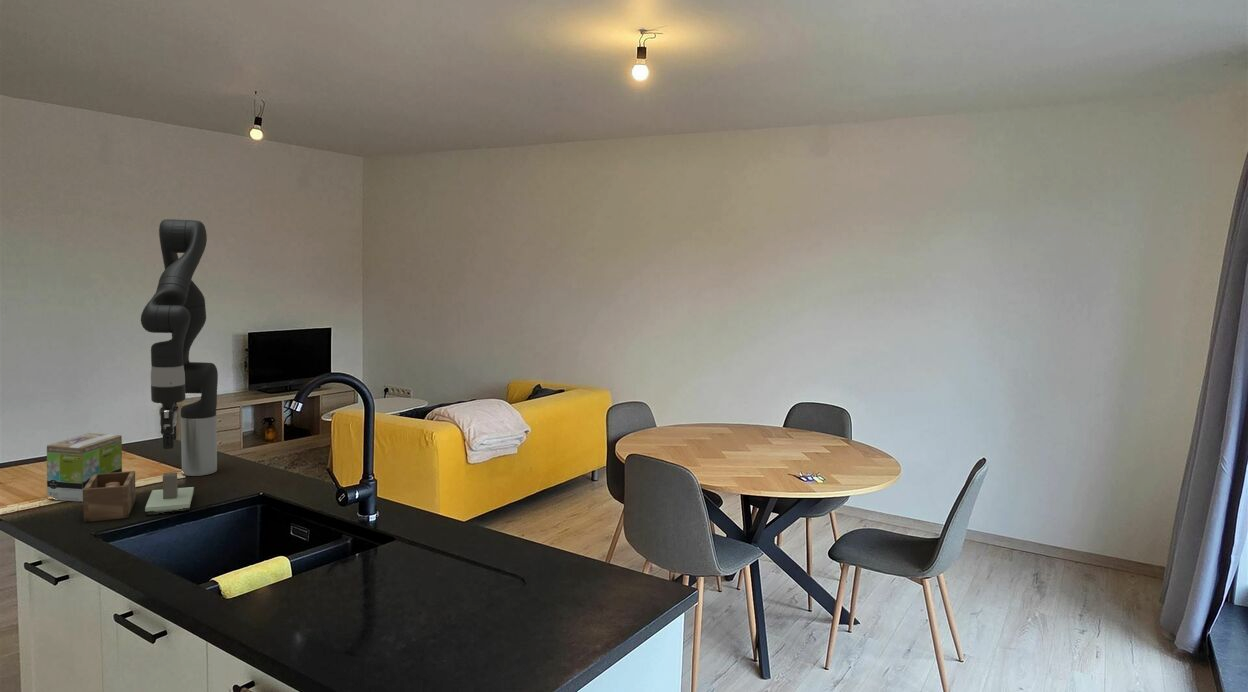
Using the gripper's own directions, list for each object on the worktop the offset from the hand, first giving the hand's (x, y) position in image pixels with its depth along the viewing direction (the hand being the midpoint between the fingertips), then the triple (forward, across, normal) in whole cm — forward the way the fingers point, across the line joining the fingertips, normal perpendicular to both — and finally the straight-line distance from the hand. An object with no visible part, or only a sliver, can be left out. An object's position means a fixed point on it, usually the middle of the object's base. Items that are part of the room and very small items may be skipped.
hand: (170, 444), depth 193 cm
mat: (+16, 0, 0) cm, 16 cm away
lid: (+16, 0, 0) cm, 16 cm away
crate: (+16, 0, +13) cm, 21 cm away
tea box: (+17, +18, +21) cm, 32 cm away
